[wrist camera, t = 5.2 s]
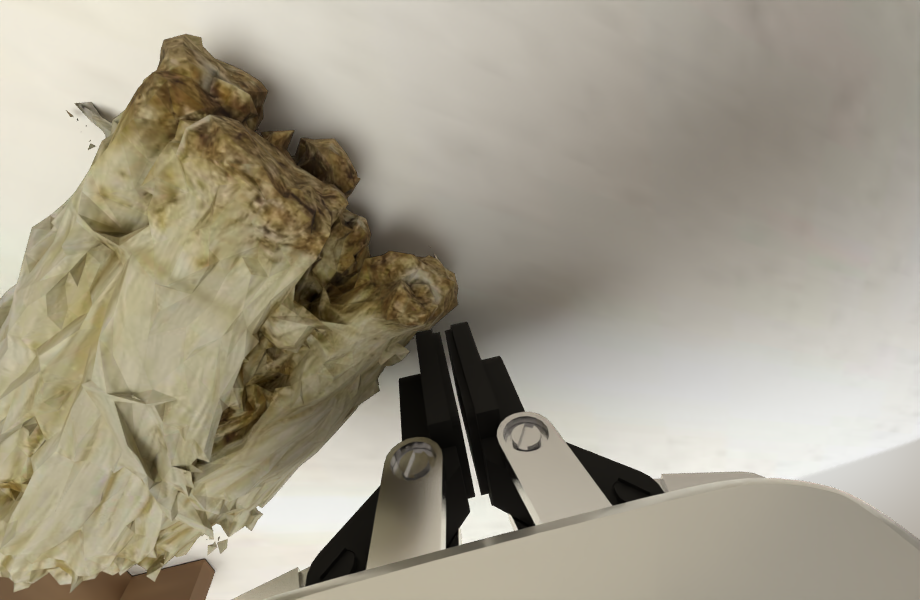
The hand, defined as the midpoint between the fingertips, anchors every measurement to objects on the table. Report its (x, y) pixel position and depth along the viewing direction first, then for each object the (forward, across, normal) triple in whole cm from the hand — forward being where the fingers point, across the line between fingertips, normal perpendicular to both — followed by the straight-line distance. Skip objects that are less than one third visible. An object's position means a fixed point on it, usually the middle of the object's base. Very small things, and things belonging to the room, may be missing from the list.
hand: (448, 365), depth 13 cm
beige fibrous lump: (+2, +6, -2) cm, 7 cm away
